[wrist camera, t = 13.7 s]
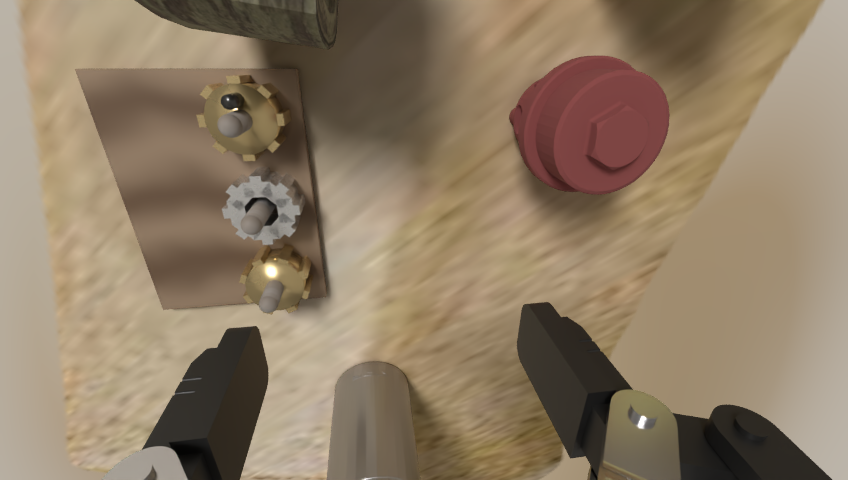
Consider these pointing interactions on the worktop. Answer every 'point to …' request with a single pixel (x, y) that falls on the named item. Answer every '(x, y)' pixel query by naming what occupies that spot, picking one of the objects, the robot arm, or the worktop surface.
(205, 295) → the gear board
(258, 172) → the steel gear
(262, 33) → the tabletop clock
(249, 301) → the gear
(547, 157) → the mechanical component
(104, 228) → the worktop surface
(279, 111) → the gear
